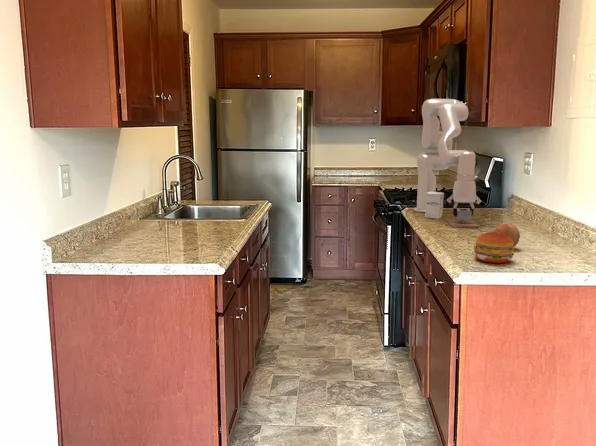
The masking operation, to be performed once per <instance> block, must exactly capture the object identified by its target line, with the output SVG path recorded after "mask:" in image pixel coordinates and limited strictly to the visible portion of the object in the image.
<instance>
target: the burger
mask: <svg viewBox="0 0 596 446" xmlns="http://www.w3.org/2000/svg"><path fill="white" fill-rule="evenodd" d="M513 245H514V242H513V240H512V239H511V238H510V237H509V236H507V235H505V234H503V233H499V232H494V231H491V232H484V233H481V234H480V235H478V236H477V237H476V239H475V244H473V250H474V252H473V253H474V255H475V258H476V259H477V260H479V261H482V262H483V263H484V262H485V263H491V264H505V263H510V262H511V261H512V259H513V257H514V255H515V253H514V251H515V246H513Z"/></svg>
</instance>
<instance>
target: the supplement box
mask: <svg viewBox="0 0 596 446" xmlns="http://www.w3.org/2000/svg"><path fill="white" fill-rule="evenodd" d="M444 197H445V193H444V192H440V191H436V192H428V193H426V209H425V212H424V218H425V219H426V218H428V219H436V220H438V219H439V220H440V219H441V218H443V209H444Z"/></svg>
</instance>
